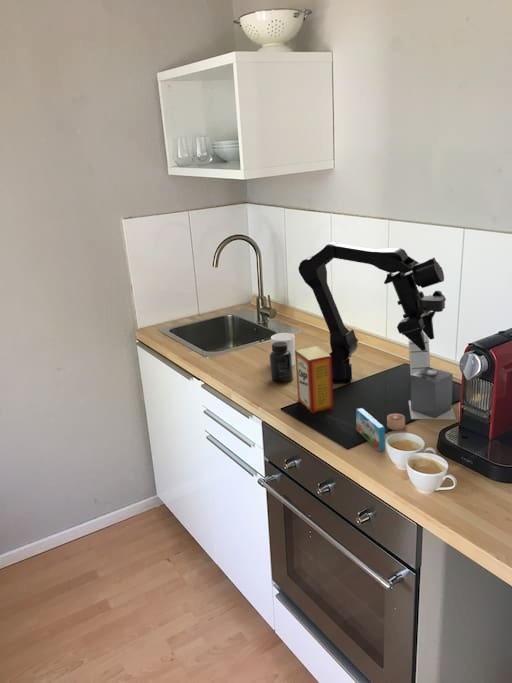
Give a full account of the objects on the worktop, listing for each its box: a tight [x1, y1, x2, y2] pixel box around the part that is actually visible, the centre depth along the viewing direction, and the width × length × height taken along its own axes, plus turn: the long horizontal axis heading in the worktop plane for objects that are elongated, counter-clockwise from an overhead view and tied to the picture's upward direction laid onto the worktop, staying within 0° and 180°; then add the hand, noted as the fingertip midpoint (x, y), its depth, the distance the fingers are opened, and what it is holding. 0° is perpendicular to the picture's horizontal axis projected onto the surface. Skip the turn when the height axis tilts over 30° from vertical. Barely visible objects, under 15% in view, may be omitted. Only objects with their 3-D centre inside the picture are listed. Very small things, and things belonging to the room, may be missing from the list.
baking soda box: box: [295, 345, 334, 413], centre depth 160 cm, size 10×6×16 cm
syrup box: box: [407, 330, 431, 376], centre depth 169 cm, size 6×6×14 cm
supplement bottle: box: [269, 342, 294, 384], centre depth 179 cm, size 7×7×12 cm
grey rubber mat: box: [408, 400, 457, 420], centre depth 152 cm, size 11×11×1 cm
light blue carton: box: [355, 407, 386, 452], centre depth 140 cm, size 12×2×6 cm, turn 17°
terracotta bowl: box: [386, 413, 406, 431], centre depth 145 cm, size 4×4×3 cm
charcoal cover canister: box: [410, 366, 454, 418], centre depth 151 cm, size 7×7×11 cm
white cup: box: [270, 332, 296, 367], centre depth 192 cm, size 8×8×10 cm
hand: (428, 344), depth 160 cm, fingers open, 9 cm apart
